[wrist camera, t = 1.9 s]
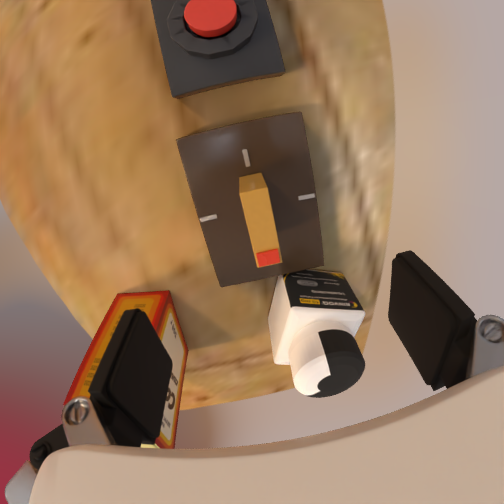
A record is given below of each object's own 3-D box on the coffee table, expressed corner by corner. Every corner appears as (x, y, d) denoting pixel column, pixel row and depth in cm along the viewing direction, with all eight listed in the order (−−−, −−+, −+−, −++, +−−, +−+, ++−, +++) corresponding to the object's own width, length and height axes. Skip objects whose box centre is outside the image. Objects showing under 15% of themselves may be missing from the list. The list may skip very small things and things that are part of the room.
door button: (184, 6, 14) (180, -2, 12) (231, -5, 14) (230, -14, 12) (192, 42, 15) (188, 36, 14) (241, 31, 15) (241, 24, 14)
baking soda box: (188, 350, 33) (172, 465, 19) (142, 350, 33) (113, 456, 19) (169, 290, 29) (131, 420, 15) (117, 293, 29) (61, 407, 15)
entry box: (155, 0, 15) (143, -16, 12) (253, -23, 15) (256, -43, 11) (177, 99, 20) (166, 95, 17) (281, 75, 20) (289, 67, 16)
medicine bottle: (343, 272, 29) (388, 351, 18) (324, 322, 32) (353, 403, 22) (279, 265, 28) (302, 353, 18) (267, 318, 31) (279, 407, 21)
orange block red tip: (239, 177, 22) (239, 194, 17) (261, 172, 21) (268, 188, 17) (253, 238, 24) (257, 270, 19) (274, 234, 24) (283, 264, 19)
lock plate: (181, 137, 22) (175, 139, 20) (295, 112, 22) (302, 111, 19) (221, 273, 28) (220, 288, 26) (317, 253, 28) (324, 266, 26)
